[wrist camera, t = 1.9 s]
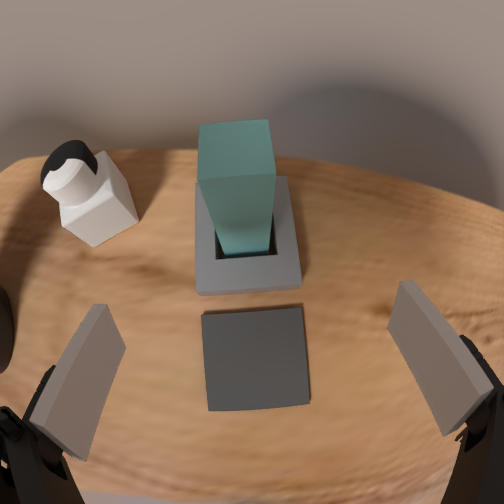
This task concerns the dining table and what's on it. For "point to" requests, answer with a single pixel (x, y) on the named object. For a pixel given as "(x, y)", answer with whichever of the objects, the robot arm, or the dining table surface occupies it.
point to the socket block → (248, 268)
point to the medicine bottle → (88, 192)
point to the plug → (238, 184)
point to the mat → (255, 360)
